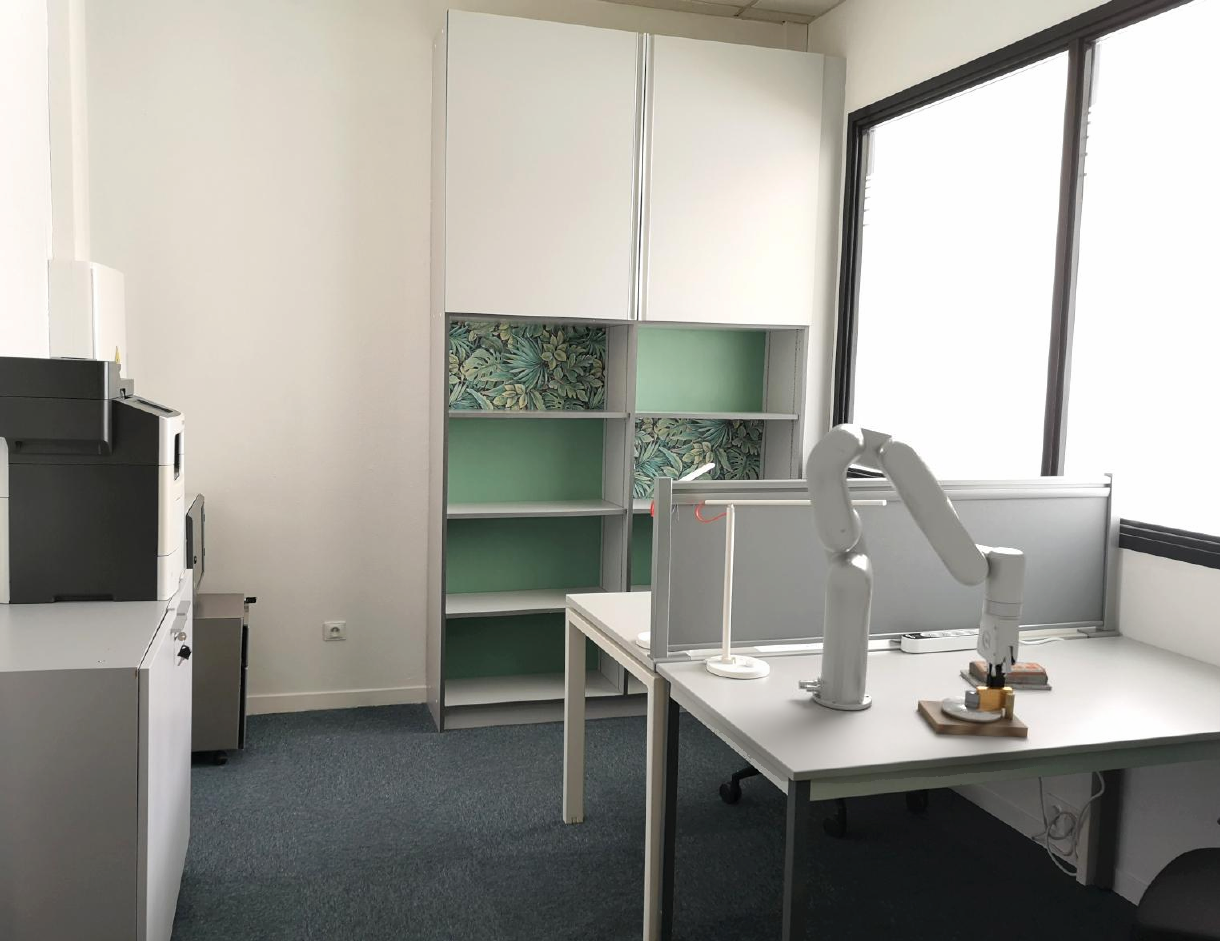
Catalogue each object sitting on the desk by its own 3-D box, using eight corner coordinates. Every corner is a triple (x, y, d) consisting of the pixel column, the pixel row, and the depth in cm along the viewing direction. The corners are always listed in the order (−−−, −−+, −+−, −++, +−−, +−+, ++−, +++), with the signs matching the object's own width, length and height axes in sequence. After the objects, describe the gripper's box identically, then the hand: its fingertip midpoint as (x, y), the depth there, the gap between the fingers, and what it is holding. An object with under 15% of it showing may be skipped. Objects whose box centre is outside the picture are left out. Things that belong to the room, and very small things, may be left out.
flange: (954, 722, 209) (956, 697, 208) (932, 701, 221) (934, 678, 220) (1022, 723, 210) (1024, 698, 209) (996, 702, 222) (998, 679, 221)
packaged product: (1035, 658, 248) (1053, 671, 238) (1033, 678, 249) (1051, 691, 239) (960, 656, 248) (976, 669, 238) (959, 676, 248) (974, 689, 239)
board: (937, 733, 209) (939, 699, 208) (917, 709, 222) (920, 677, 222) (1027, 737, 208) (1030, 703, 208) (1001, 712, 222) (1004, 681, 221)
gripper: (970, 598, 223) (963, 681, 225) (1000, 616, 208) (992, 705, 210) (1004, 599, 223) (996, 682, 225) (1036, 617, 208) (1028, 705, 211)
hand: (994, 693), depth 218 cm, fingers closed
